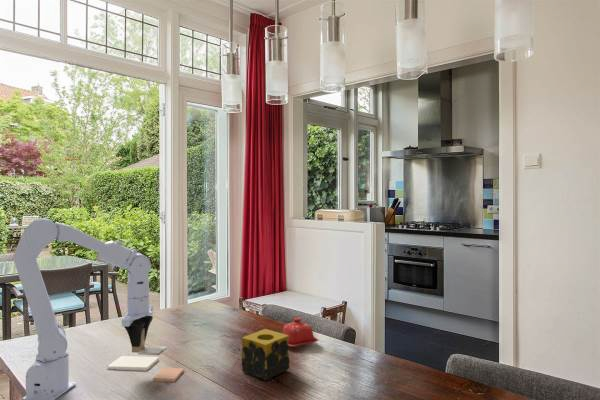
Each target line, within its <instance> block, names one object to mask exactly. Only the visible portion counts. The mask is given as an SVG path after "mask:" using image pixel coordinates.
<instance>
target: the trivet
mask: <svg viewBox="0 0 600 400" xmlns="http://www.w3.org/2000/svg"><path fill="white" fill-rule="evenodd" d="M159 360H160V357H159V356H138V355H137V356H136V355H135V356H133V355H121V356H119V357H118V358H116V359H115V360H114V361H113V362H111V363H109V364H108V365H107V366H106V369H107V370H114V369H115V370H116V371H117V370H118V371H119V370H121V371H139V372H140V371H144V372H145V371H149V370H150V369H151V368H152V367H153V366H154V365H155V364H156V363H158V362H159Z"/></svg>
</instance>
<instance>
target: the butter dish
mask: <svg viewBox="0 0 600 400" xmlns="http://www.w3.org/2000/svg"><path fill="white" fill-rule="evenodd" d="M293 321H294V322H288V323H286V324H285V325H283V327H282V328H283V329H282V334H285V335H288V336H289V340H288V346H289V347H293V348H295V347H299V346H304V345H309V344H312V343H316V342H319V339H318V338H316V337H315V336H314V332H313V328H312V327H311V326H310V325H309V324H308V323H306V322H304V321H302V318H300V317H294V318H293Z"/></svg>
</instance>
